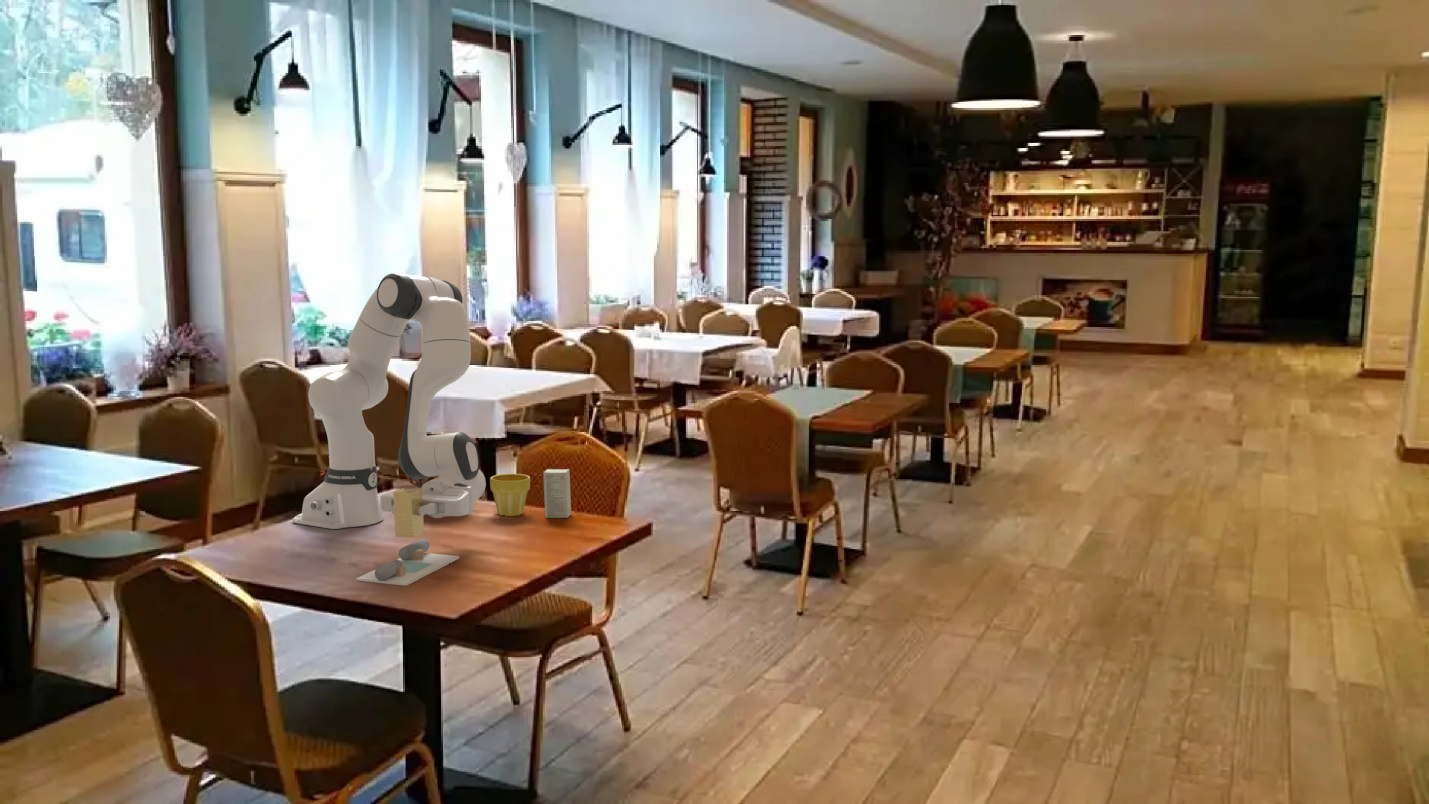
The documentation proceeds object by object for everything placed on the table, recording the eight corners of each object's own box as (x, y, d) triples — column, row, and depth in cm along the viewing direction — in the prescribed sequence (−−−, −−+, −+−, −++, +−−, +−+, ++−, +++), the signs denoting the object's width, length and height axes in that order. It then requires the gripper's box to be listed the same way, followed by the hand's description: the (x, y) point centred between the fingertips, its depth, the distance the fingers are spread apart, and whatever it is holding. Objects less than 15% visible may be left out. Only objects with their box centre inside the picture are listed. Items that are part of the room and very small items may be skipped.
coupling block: (395, 536, 256) (393, 491, 254) (406, 531, 260) (404, 487, 258) (413, 537, 254) (411, 492, 253) (424, 533, 258) (422, 488, 257)
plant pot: (530, 508, 316) (529, 472, 315) (531, 517, 306) (530, 480, 305) (491, 509, 314) (490, 473, 313) (490, 518, 304) (489, 481, 303)
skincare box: (571, 514, 309) (570, 469, 307) (567, 518, 305) (567, 472, 303) (547, 513, 310) (547, 468, 308) (543, 517, 305) (543, 471, 304)
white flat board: (415, 552, 271) (415, 537, 271) (461, 557, 268) (461, 542, 267) (356, 580, 250) (355, 564, 249) (406, 585, 246) (405, 569, 246)
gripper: (399, 481, 271) (364, 493, 258) (478, 486, 265) (447, 499, 252) (400, 508, 272) (365, 522, 259) (479, 513, 266) (448, 528, 253)
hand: (406, 510), depth 255 cm, fingers closed on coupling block, 4 cm apart
